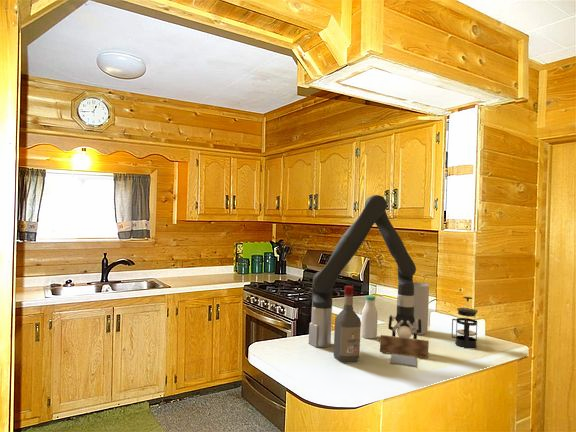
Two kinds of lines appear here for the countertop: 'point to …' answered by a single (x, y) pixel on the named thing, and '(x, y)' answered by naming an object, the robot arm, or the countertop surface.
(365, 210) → the robot arm
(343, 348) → the liquor
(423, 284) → the cylinder vase
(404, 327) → the lightbulb
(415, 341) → the brown wooden block
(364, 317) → the milk bottle
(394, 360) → the mat
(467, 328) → the french press
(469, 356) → the countertop surface
